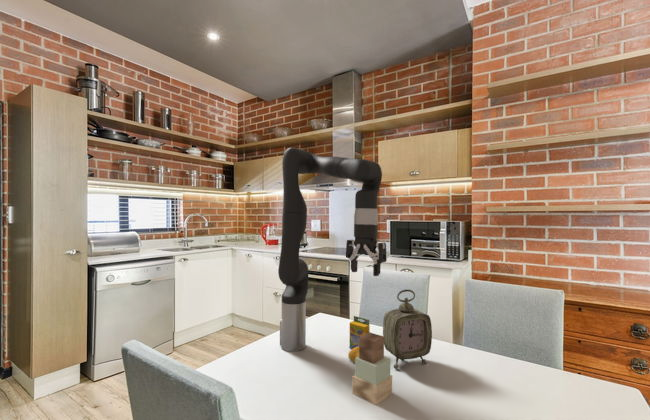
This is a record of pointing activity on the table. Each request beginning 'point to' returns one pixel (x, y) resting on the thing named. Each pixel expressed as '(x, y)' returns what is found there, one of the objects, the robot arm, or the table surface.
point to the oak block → (372, 389)
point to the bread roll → (353, 354)
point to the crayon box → (358, 330)
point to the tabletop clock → (407, 332)
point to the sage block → (372, 370)
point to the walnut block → (371, 347)
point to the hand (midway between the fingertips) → (365, 273)
